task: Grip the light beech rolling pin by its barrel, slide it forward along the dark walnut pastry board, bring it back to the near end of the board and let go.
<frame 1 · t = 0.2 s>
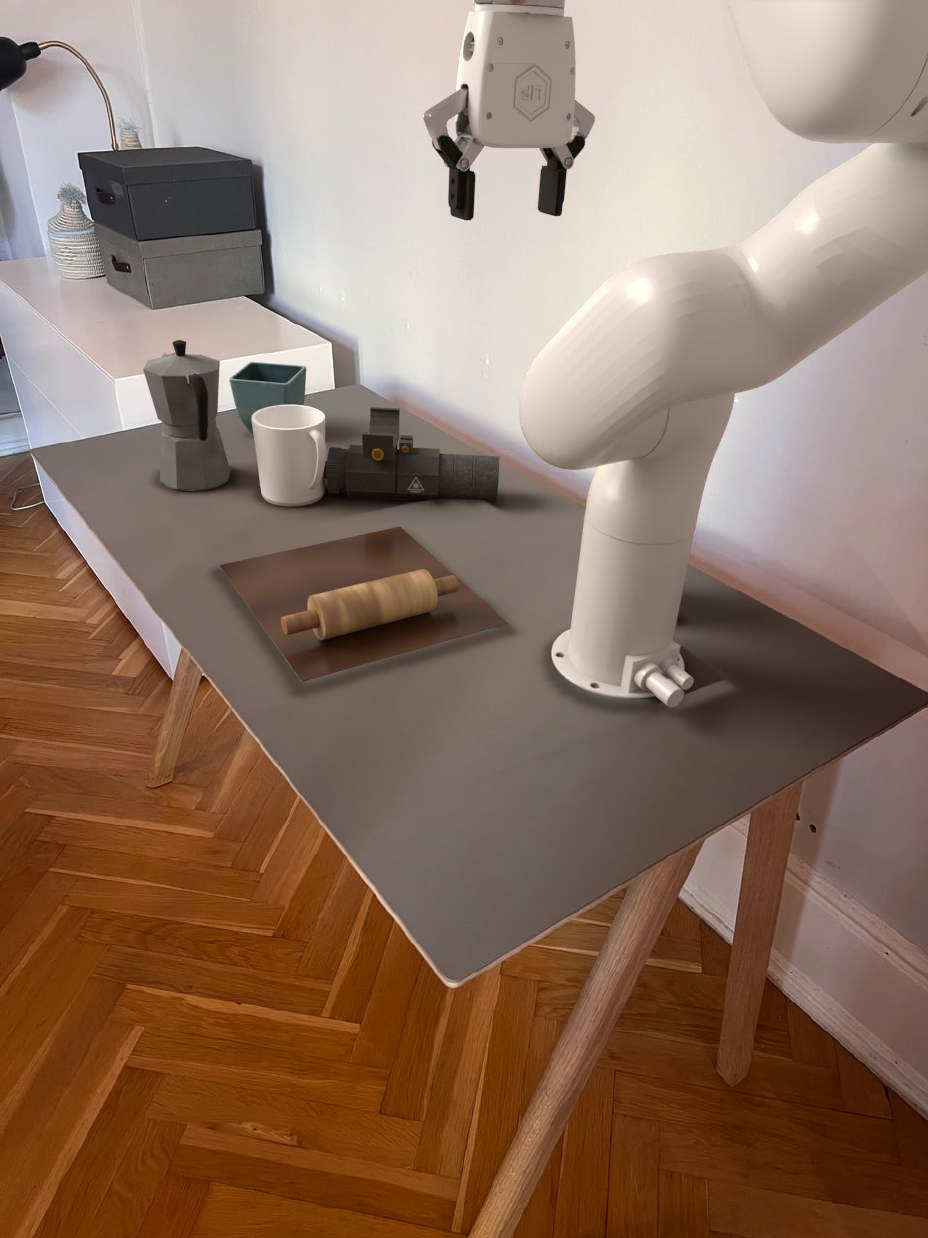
hand: (506, 215, 85), 37 cm above the table, tool pointing down, fingers open, 9 cm apart
flower pot: (272, 432, 136), on the table
coffeepot: (198, 482, 120), on the table
mug: (298, 497, 117), on the table
rolling pin: (373, 622, 90), point 1 cm above the table, touching pastry board
pastry board: (357, 601, 96), on the table
laser sight: (410, 497, 118), on the table
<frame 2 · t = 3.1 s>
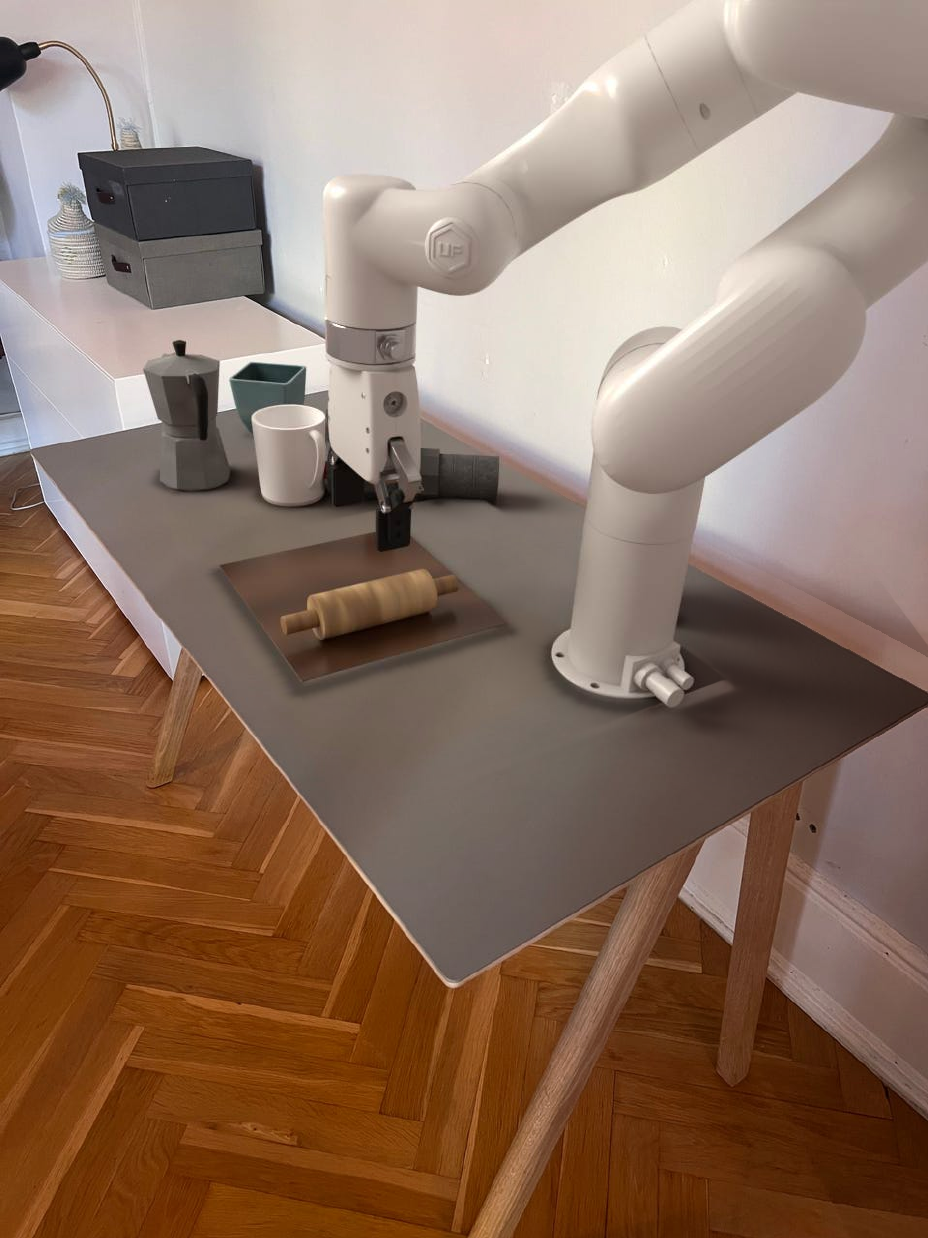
hand: (369, 525, 85), 12 cm above the table, tool pointing down, fingers open, 9 cm apart
nothing on the table moved.
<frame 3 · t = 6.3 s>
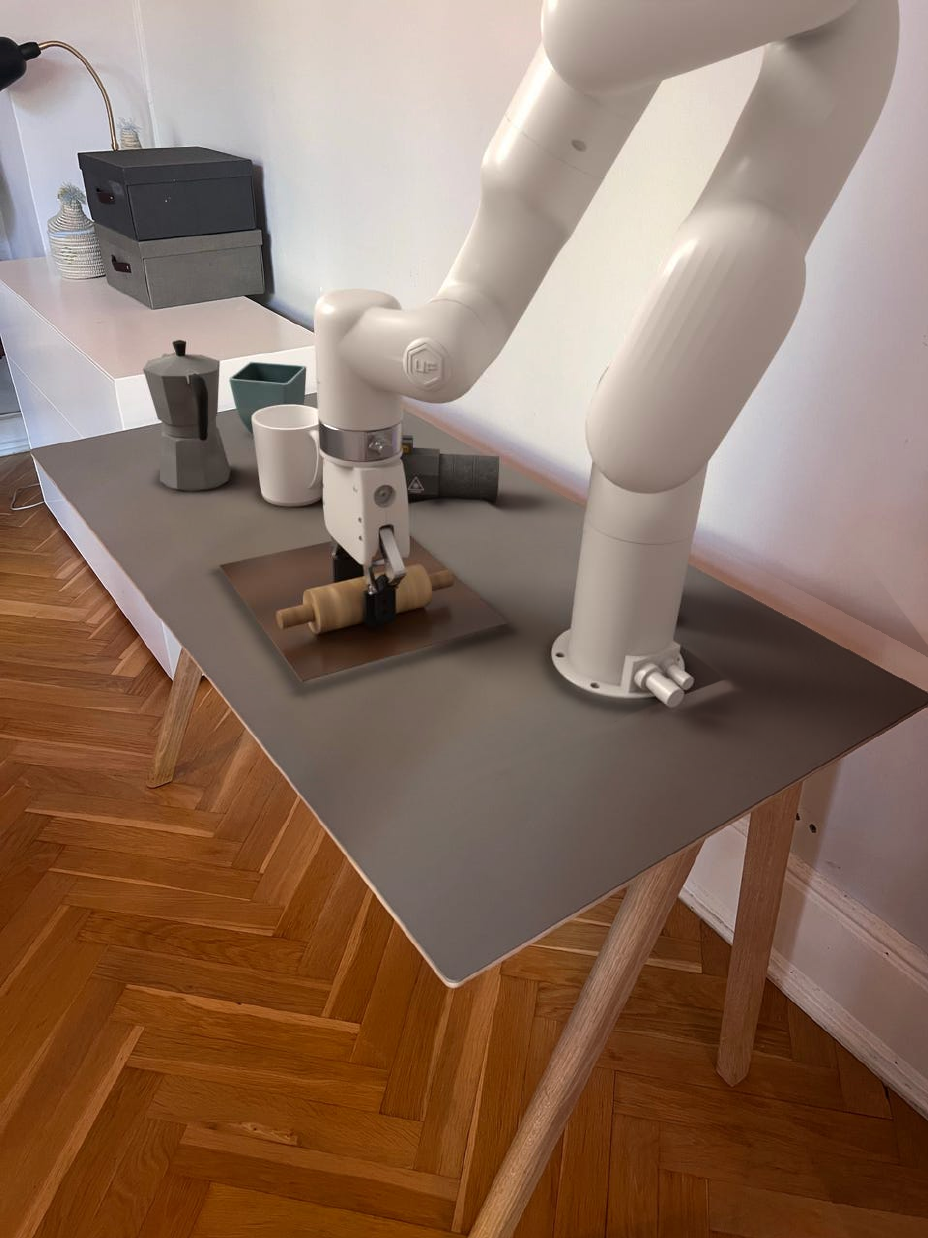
hand: (364, 605, 91), 2 cm above the table, tool pointing down, fingers open, 6 cm apart
rolling pin: (373, 619, 90), point 1 cm above the table, tilted 30°, touching gripper, pastry board
everything else where it was.
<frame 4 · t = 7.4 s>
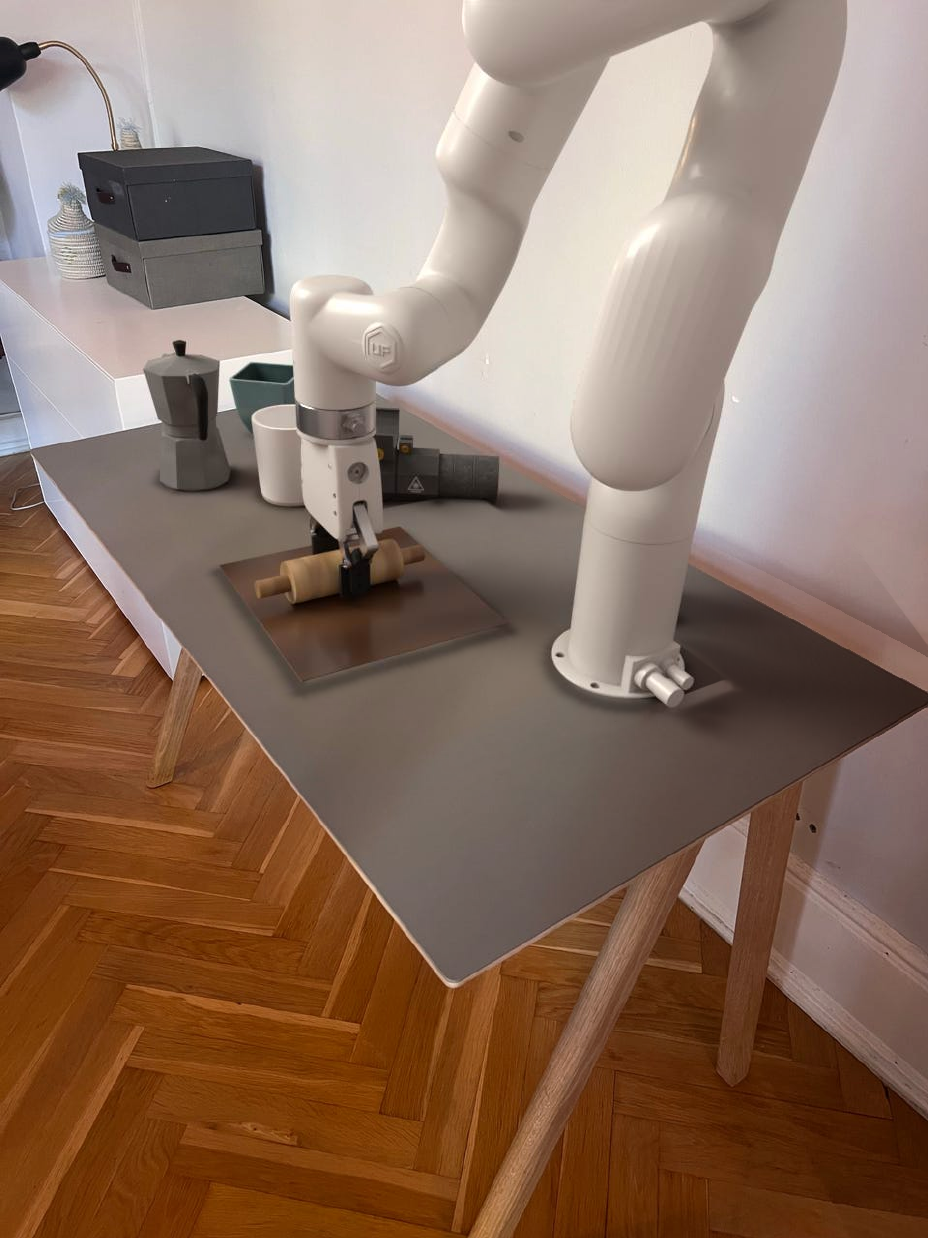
hand: (341, 580, 95), 2 cm above the table, tool pointing down, fingers open, 6 cm apart
rolling pin: (340, 550, 94), point 5 cm above the table, tilted 168°, touching pastry board
everything else where it was.
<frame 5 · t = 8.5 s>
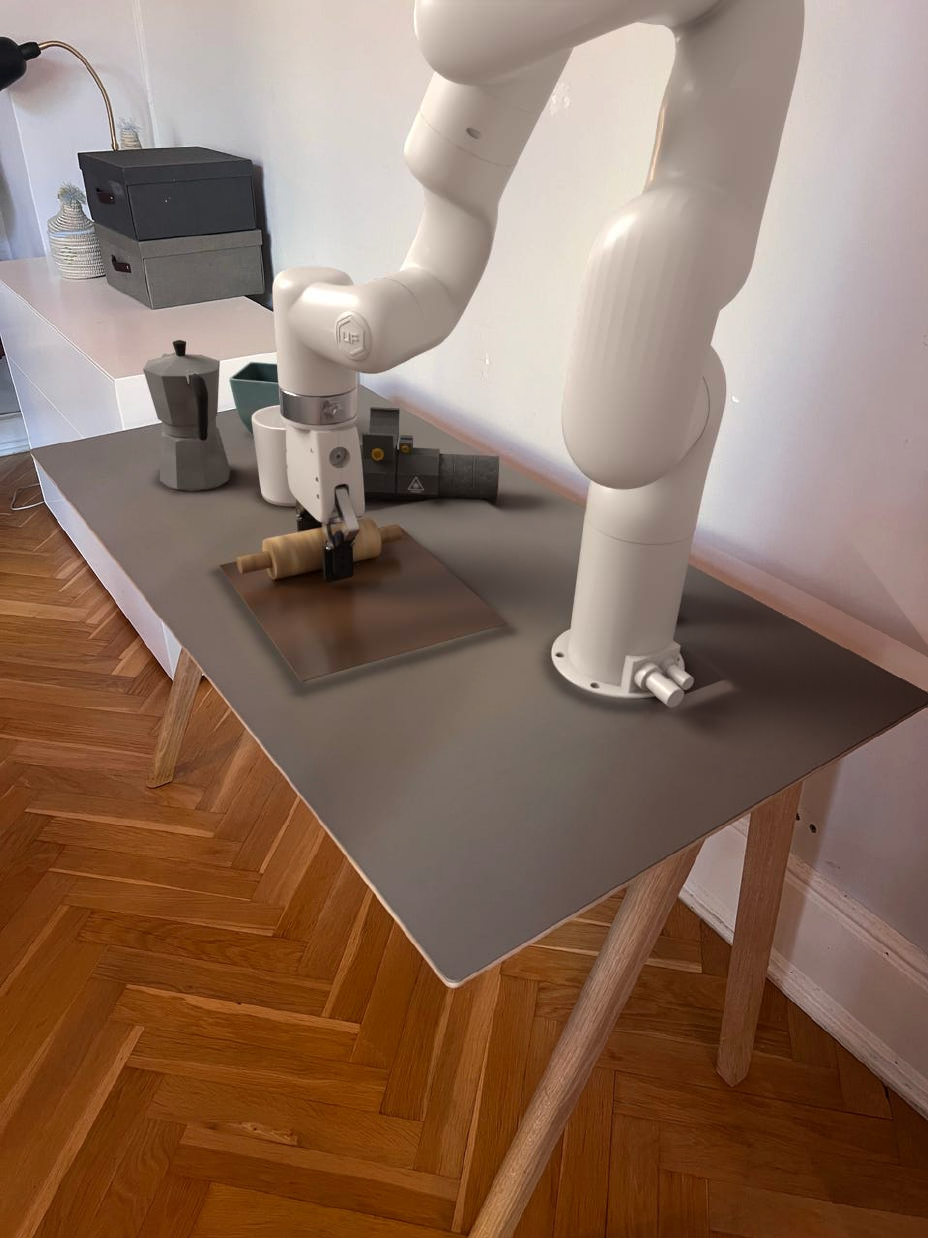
hand: (325, 562, 98), 2 cm above the table, tool pointing down, fingers open, 6 cm apart
rolling pin: (319, 560, 100), point 1 cm above the table, tilted 26°, touching pastry board
everything else where it was.
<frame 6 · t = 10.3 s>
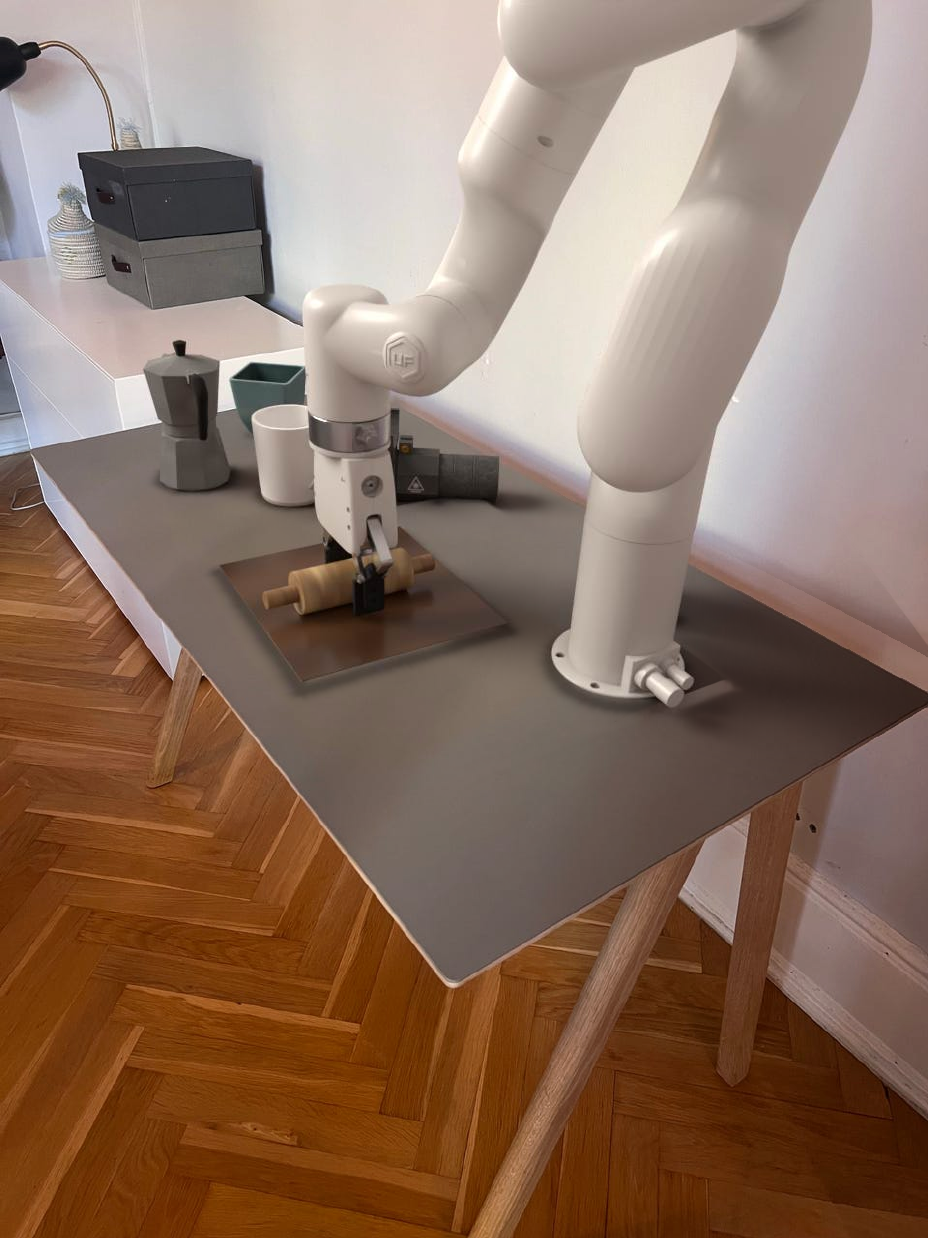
hand: (354, 594, 93), 2 cm above the table, tool pointing down, fingers open, 6 cm apart
rolling pin: (358, 575, 91), point 5 cm above the table, tilted 132°, touching pastry board
everything else where it was.
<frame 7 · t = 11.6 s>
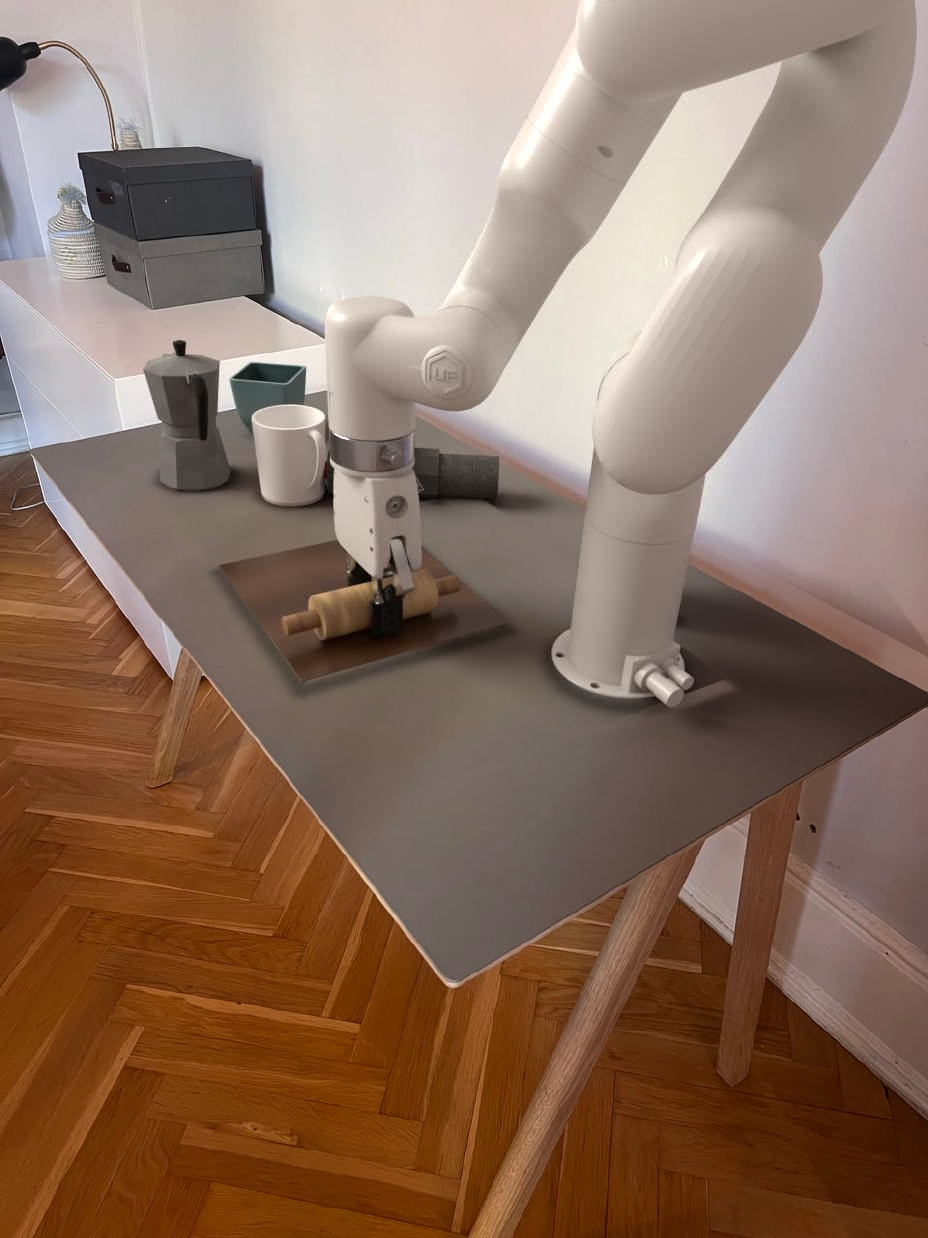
hand: (375, 619, 90), 1 cm above the table, tool pointing down, fingers closed on rolling pin, 4 cm apart
rolling pin: (372, 619, 91), point 1 cm above the table, tilted 14°, touching gripper
everything else where it was.
when the fingers open (1 cm above the table, at t = 11.6 s): rolling pin moves 1 cm and tips over, resting on pastry board.
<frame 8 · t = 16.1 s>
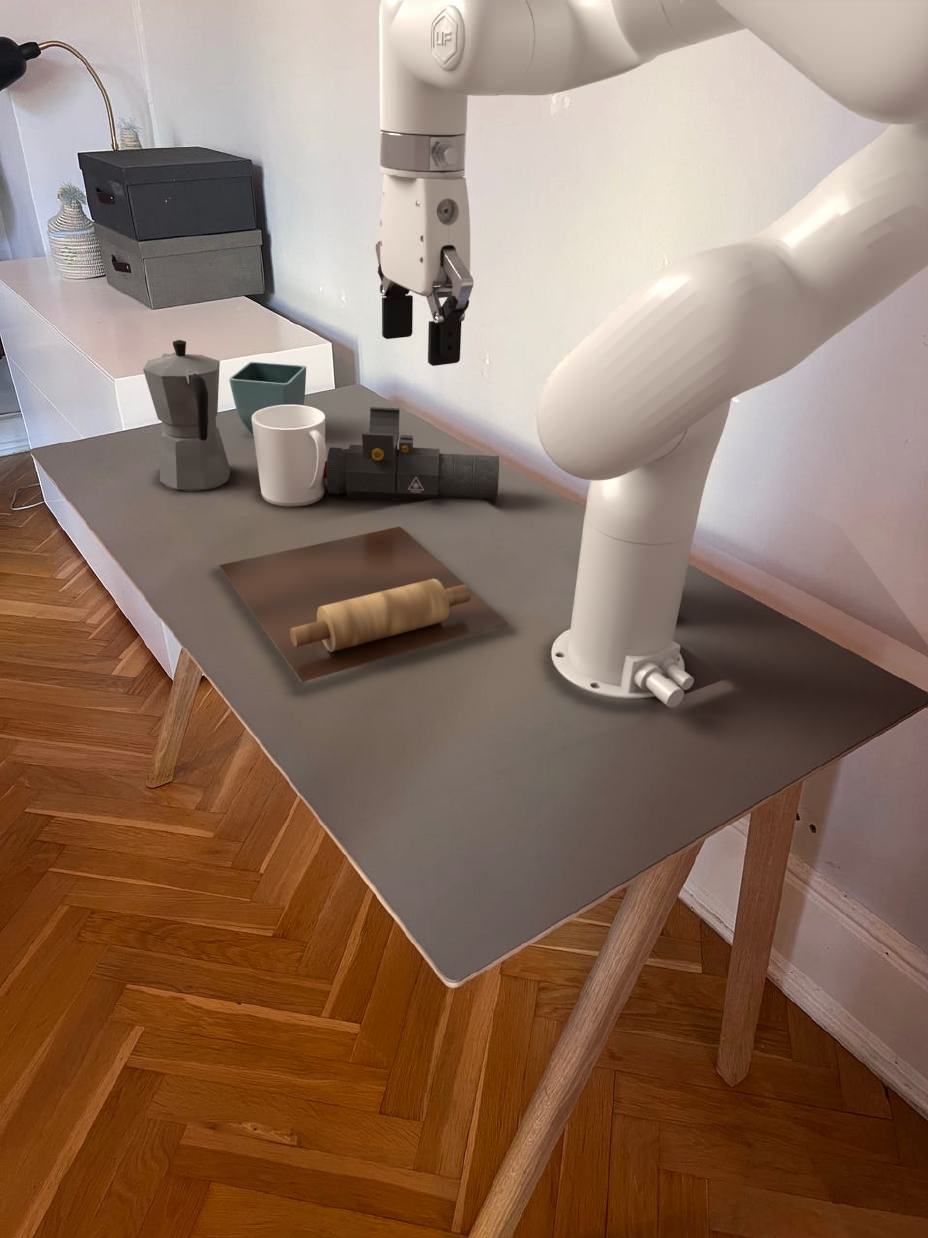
hand: (419, 349, 90), 24 cm above the table, tool pointing down, fingers open, 9 cm apart
rolling pin: (374, 611, 89), point 2 cm above the table, tilted 70°, touching pastry board
everything else where it was.
at the end: rolling pin inside the target area on the pastry board (1.0 cm from its centre), point 2.4 cm above the pastry board's base; the gripper is holding nothing; rolling pin touching pastry board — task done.
